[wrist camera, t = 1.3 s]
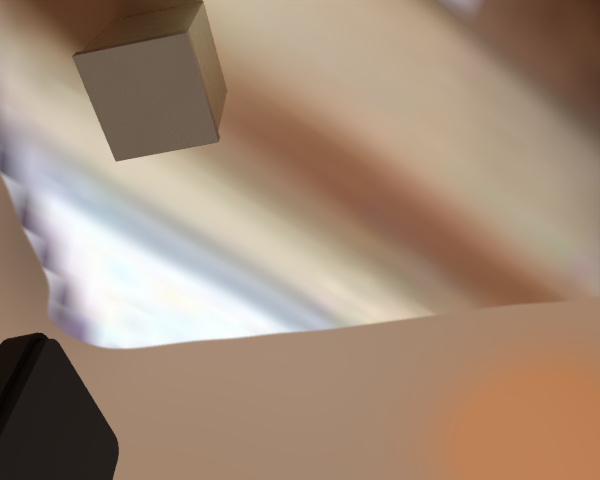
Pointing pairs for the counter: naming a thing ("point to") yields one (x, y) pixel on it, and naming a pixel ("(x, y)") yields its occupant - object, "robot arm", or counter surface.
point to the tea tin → (155, 82)
